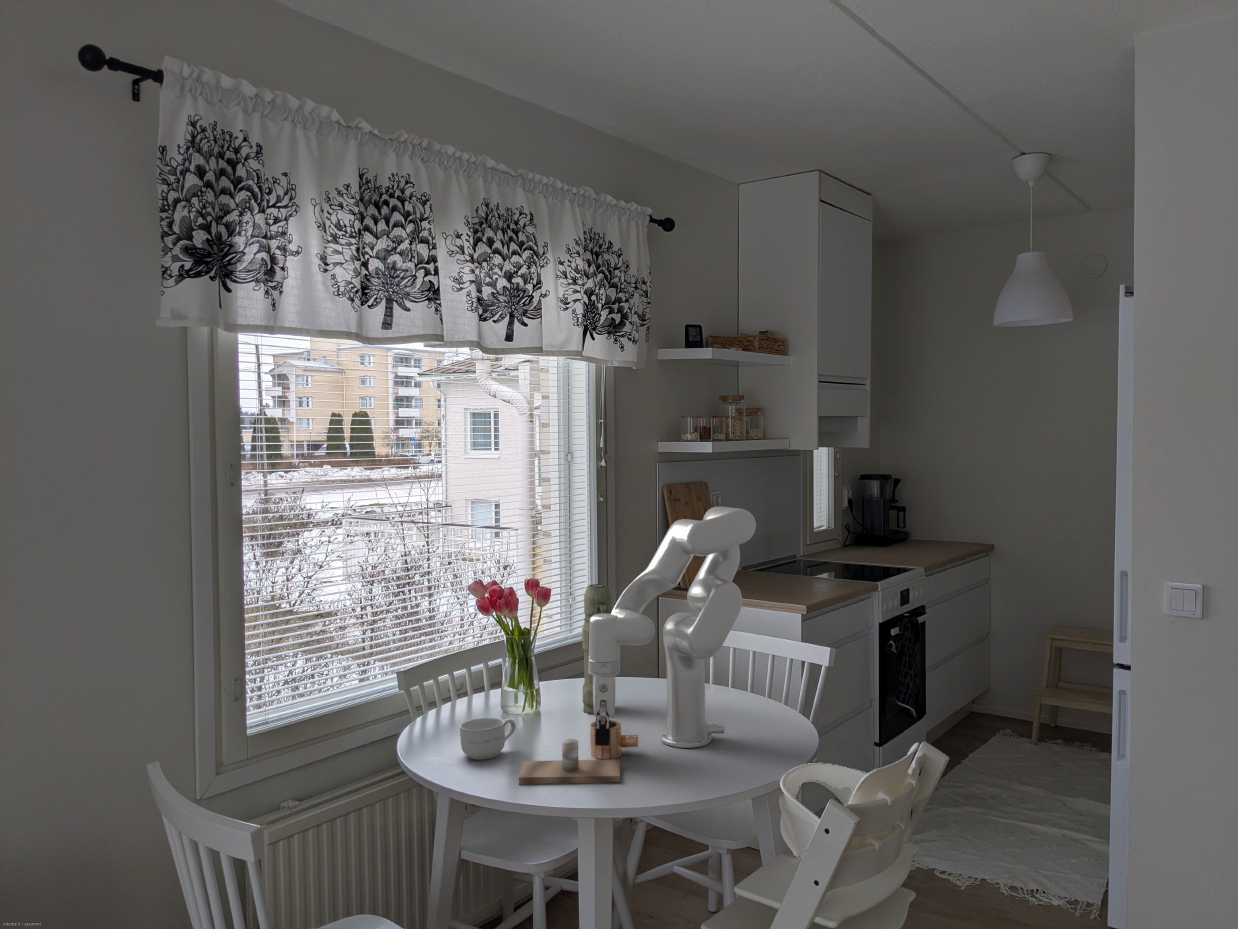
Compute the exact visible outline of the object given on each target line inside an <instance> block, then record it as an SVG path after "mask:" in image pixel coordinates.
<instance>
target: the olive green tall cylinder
mask: <svg viewBox="0 0 1238 929" xmlns="http://www.w3.org/2000/svg"><path fill="white" fill-rule="evenodd" d="M609 588H610V587H609V586H608V585H606V584H603V583H597V584H596V583H595V584H594V583H593V584H589V585H587V586H586V588H585V592H584V595H583V606H584V607H583V608H584V609H583V610H584V611H583V613H584V618H583V619H584V620H583V622H584V623H583V626H582V629H581V635H582V636H581V638H582V640H581V641H582V642H581V643H582V644H581V646H582V650H583V656H584V657H583V658H584V660H583V661H584V662H583V665H584V666H583V668H584V674H583V675H584V678H583V679H584V682H583V686H582V703H583V710H582V711H583V713H585V714H586V713H587V715H590V714H591V716H594V706H593V675H591V674H589V673H588V659H589V622H590V618H591V617H592V616H593V615H595V614H611V613H612V594H611V591H610V590H611V589H609ZM599 715H600V714H599Z"/></svg>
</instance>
